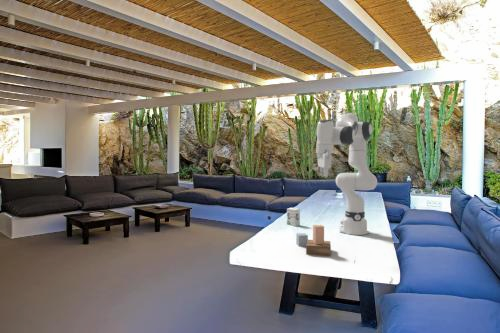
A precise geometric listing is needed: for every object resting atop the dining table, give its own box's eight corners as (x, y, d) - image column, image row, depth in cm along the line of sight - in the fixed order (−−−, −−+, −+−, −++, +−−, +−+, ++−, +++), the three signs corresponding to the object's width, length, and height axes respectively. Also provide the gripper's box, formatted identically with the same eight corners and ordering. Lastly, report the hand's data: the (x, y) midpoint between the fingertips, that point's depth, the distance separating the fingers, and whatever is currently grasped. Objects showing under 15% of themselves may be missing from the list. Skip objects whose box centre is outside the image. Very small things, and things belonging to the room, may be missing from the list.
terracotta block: (312, 242, 179) (313, 225, 179) (321, 242, 180) (321, 225, 180) (315, 244, 175) (315, 226, 175) (324, 244, 175) (324, 226, 175)
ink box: (300, 225, 242) (300, 209, 241) (294, 226, 239) (295, 209, 238) (291, 223, 248) (291, 207, 248) (286, 224, 245) (286, 207, 245)
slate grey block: (296, 243, 193) (296, 233, 192) (304, 243, 193) (305, 233, 193) (298, 246, 188) (299, 235, 187) (307, 246, 188) (307, 235, 188)
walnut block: (307, 248, 185) (307, 239, 184) (330, 250, 182) (330, 241, 182) (306, 255, 173) (306, 245, 173) (330, 257, 170) (330, 247, 170)
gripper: (334, 150, 171) (334, 177, 171) (327, 150, 191) (326, 175, 192) (322, 149, 171) (321, 177, 171) (315, 150, 191) (315, 174, 192)
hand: (324, 176), depth 182 cm, fingers open, 8 cm apart
